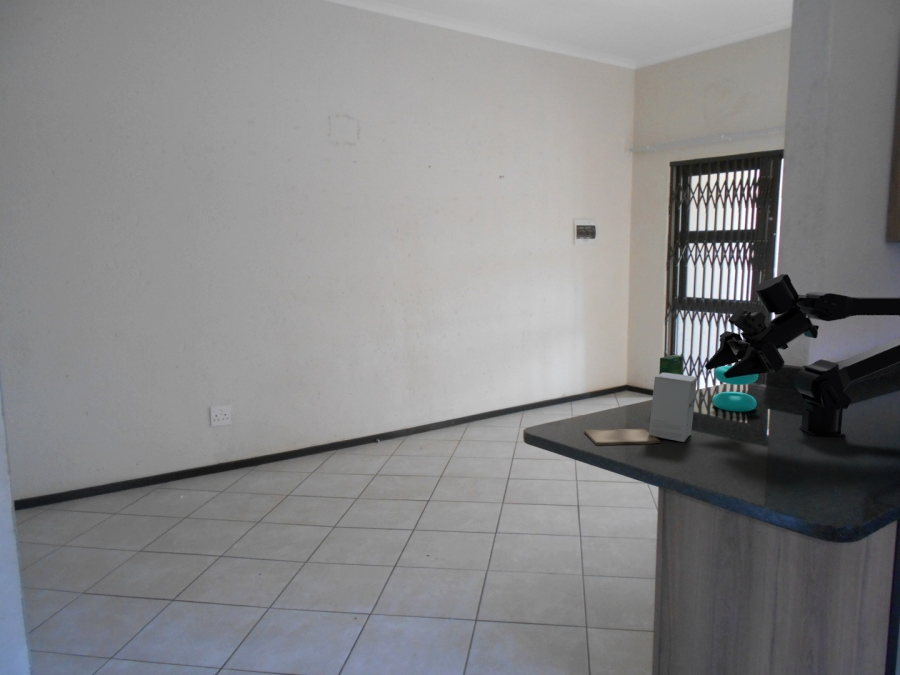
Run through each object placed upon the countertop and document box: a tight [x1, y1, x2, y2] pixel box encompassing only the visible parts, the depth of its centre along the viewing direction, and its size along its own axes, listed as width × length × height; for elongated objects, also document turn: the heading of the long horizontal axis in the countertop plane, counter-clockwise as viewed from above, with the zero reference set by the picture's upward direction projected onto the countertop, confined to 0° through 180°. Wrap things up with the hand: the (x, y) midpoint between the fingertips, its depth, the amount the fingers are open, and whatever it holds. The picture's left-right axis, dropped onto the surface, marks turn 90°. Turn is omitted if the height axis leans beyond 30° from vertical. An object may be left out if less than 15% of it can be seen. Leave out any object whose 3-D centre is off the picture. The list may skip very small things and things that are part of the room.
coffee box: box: [658, 354, 684, 375], centre depth 151 cm, size 8×3×13 cm, turn 137°
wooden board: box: [583, 428, 661, 446], centre depth 127 cm, size 13×9×1 cm
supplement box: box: [648, 373, 698, 443], centre depth 126 cm, size 7×7×13 cm
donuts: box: [712, 365, 759, 413], centre depth 151 cm, size 10×10×10 cm
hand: (714, 371), depth 128 cm, fingers open, 9 cm apart
